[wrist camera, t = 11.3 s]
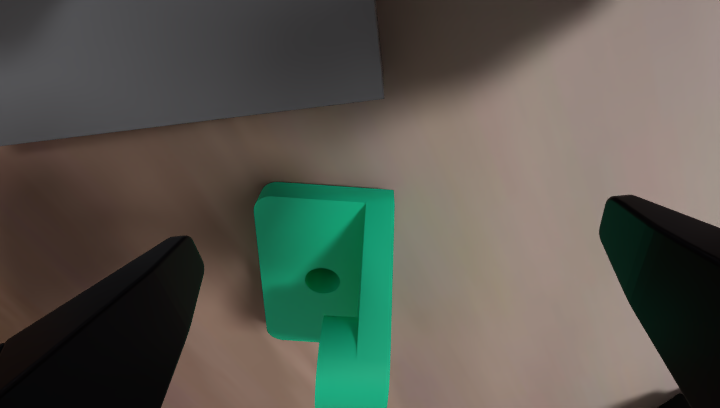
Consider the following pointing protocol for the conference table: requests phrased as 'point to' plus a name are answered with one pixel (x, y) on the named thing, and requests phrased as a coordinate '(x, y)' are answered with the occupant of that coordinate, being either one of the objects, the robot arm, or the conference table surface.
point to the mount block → (178, 62)
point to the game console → (676, 402)
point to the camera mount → (331, 283)
